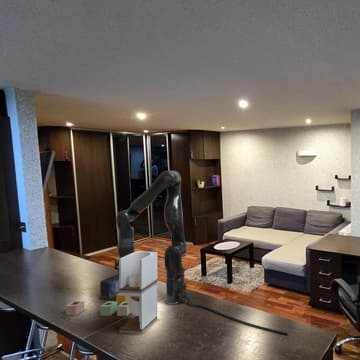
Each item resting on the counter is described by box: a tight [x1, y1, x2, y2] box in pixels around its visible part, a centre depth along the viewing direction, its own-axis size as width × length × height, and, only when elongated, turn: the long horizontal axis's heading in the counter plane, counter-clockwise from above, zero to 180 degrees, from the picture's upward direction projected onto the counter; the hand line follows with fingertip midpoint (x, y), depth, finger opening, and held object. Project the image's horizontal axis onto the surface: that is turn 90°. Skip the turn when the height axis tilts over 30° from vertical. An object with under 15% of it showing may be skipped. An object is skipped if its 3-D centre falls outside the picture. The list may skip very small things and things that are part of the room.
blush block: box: [65, 300, 85, 316], centre depth 141 cm, size 5×5×5 cm
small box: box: [99, 274, 119, 301], centre depth 160 cm, size 11×6×10 cm, turn 168°
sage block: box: [99, 300, 118, 317], centre depth 142 cm, size 5×5×5 cm
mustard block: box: [115, 294, 129, 305], centre depth 154 cm, size 5×5×5 cm
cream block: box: [116, 301, 132, 317], centre depth 142 cm, size 5×5×5 cm
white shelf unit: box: [118, 250, 158, 335], centre depth 131 cm, size 11×11×35 cm
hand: (125, 273), depth 153 cm, fingers open, 8 cm apart
